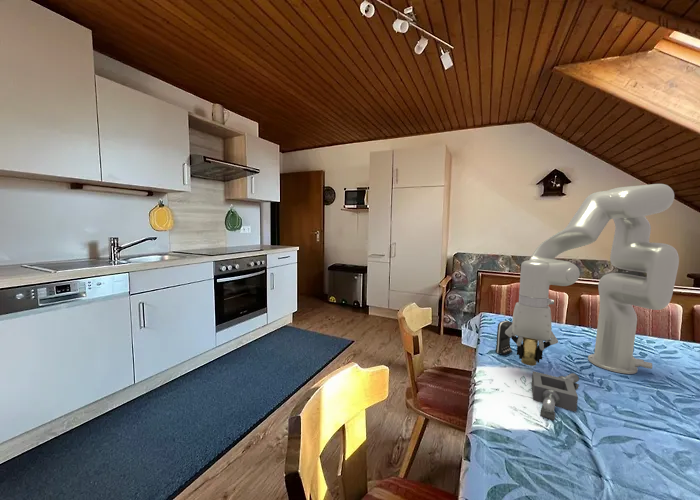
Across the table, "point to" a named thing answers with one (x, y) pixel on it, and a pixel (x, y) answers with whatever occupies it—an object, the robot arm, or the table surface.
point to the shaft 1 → (549, 403)
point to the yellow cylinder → (529, 351)
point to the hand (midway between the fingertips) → (528, 358)
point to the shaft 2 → (573, 378)
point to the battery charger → (503, 338)
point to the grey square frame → (558, 385)
